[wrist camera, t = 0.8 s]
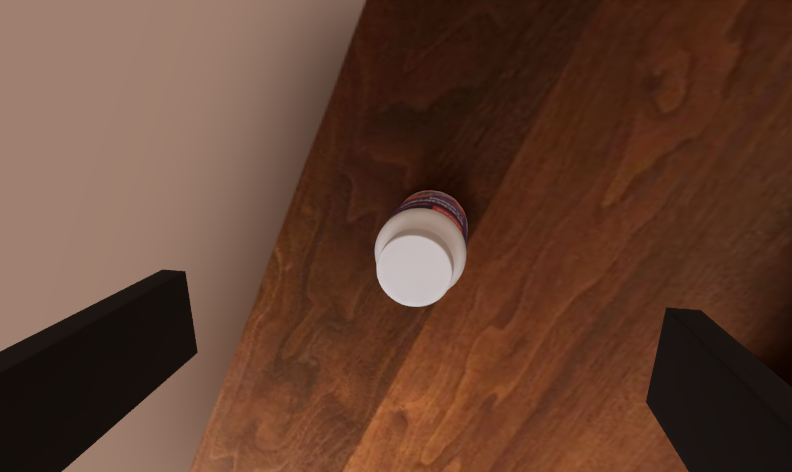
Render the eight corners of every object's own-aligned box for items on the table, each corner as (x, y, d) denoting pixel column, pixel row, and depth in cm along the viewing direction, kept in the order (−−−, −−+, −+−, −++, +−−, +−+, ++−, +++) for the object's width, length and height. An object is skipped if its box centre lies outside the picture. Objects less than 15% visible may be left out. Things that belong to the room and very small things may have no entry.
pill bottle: (475, 197, 29) (478, 235, 20) (458, 266, 31) (453, 330, 22) (401, 181, 30) (371, 211, 21) (388, 250, 31) (355, 306, 22)
